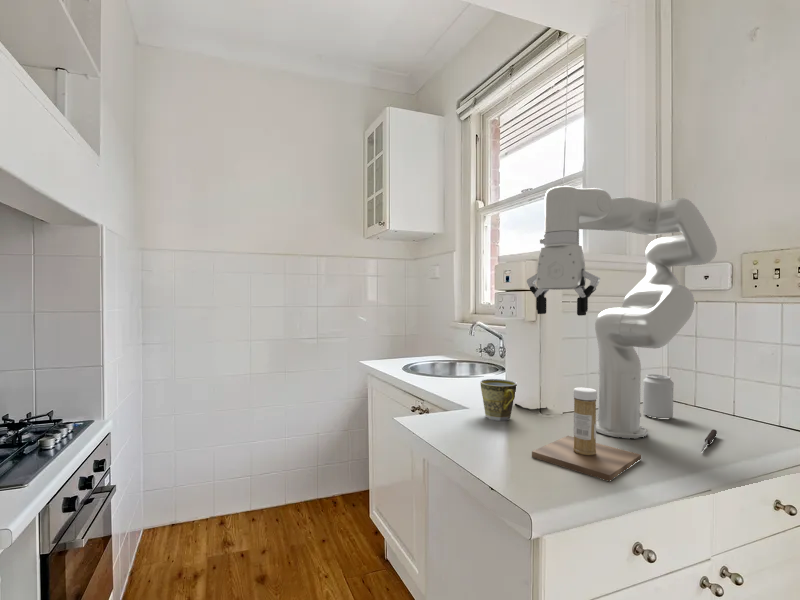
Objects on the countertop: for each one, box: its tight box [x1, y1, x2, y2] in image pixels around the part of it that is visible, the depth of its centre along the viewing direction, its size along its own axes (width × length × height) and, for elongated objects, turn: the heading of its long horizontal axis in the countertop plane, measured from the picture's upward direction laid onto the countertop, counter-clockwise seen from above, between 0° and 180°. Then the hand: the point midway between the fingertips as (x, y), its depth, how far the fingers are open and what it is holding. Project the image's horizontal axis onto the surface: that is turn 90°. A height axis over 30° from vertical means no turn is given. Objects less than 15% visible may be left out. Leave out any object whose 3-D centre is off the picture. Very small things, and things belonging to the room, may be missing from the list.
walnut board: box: [531, 435, 642, 482], centre depth 90 cm, size 16×16×1 cm
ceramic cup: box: [480, 378, 517, 422], centre depth 119 cm, size 13×10×10 cm
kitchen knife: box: [700, 429, 718, 453], centre depth 99 cm, size 18×1×2 cm, turn 136°
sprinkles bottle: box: [573, 386, 598, 455], centre depth 90 cm, size 5×5×14 cm
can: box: [642, 373, 675, 419], centre depth 123 cm, size 8×8×12 cm
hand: (561, 314), depth 99 cm, fingers open, 9 cm apart
